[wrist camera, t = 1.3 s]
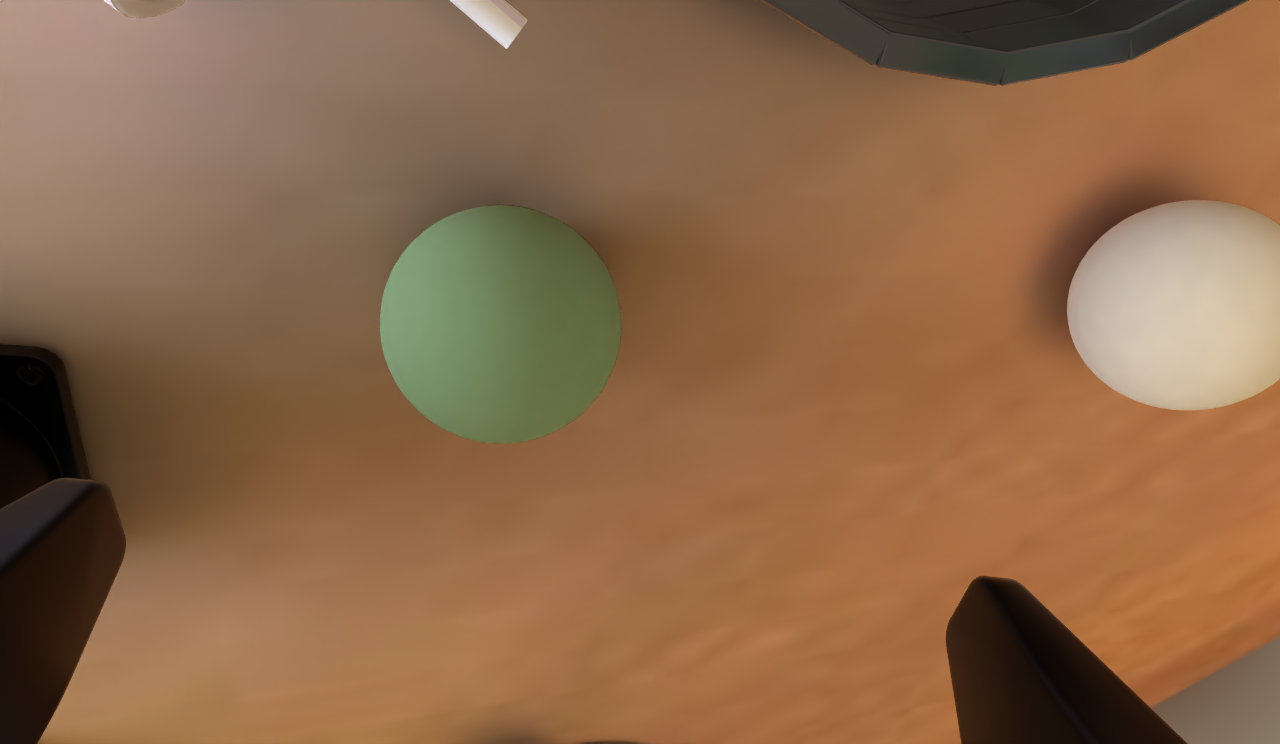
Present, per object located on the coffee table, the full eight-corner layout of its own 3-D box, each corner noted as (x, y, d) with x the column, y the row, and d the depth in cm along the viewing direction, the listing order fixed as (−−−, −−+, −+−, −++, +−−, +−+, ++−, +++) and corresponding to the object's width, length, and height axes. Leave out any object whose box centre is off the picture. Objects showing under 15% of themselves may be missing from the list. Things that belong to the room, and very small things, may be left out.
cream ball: (1152, 351, 23) (1294, 458, 19) (998, 337, 22) (1112, 447, 18) (1247, 183, 21) (1433, 264, 17) (1078, 158, 20) (1232, 239, 16)
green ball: (593, 371, 21) (614, 498, 17) (393, 357, 20) (362, 488, 16) (622, 185, 19) (658, 280, 14) (395, 158, 18) (361, 252, 13)
